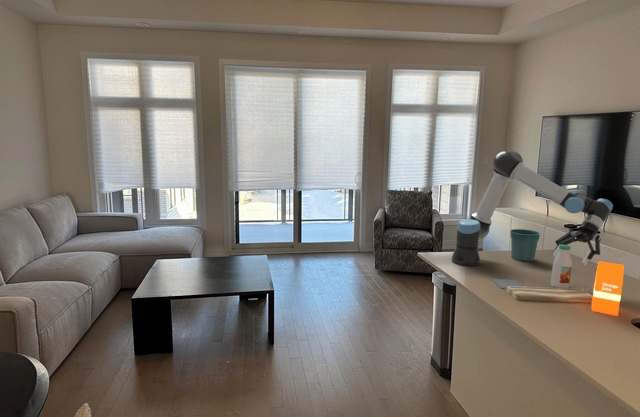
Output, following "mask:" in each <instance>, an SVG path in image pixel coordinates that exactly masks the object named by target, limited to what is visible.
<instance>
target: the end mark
mask: <svg viewBox="0 0 640 417" xmlns="http://www.w3.org/2000/svg"><path fill="white" fill-rule="evenodd" d="M491 281H492V282H493V283H494V284H496V285H497V286H498V287H499V288H500V289H504V290H505V288H506V286H524V287H526V286H525V285H523V284H522V283H520V281H518V280H517V279H500V278H499V279H498V278H497V279H496V278H495V279H494V278H491Z"/></svg>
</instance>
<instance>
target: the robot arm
mask: <svg viewBox="0 0 640 417" xmlns="http://www.w3.org/2000/svg"><path fill="white" fill-rule="evenodd" d="M523 163H524V160H523V157H522V156H521V154H520V153H518V152H516V151H514V150H503V151H500V152H498V153H497V154H496V155H495V156H494V158H493V161H492V164H493V170H492V173H493V176H492V177H491V180H490V183H489V184H488V187H487V189H486V190H485V193H484V194H483V198H482V199H481V201H480V203H479V205H478V207H477V209H476V212H473V213H472V214H471V216H470V217H469V218H467V219H461V220H459V221H458V222H457V229H456V241H455V243H456V244H455V248H454V250H453V252H452V255H451V262H452V263H453V264H457V265H462V266H467V267H468V266H469V267H471V266H472V267H475V266H479V265H480V264H481V257H480V253H479V241H480V240H482V239H484V238H486V237H487V236H488V234H489V233H490V226H491V225H492V217H493V214H494V213H495V210H496V208H497V207H498V204H499V202H500V200H501V199H502V197H503V194H504V193H505V190H506V188H507V186H508V184H509V182H510V181H512V180H514V179H515V180H517V181H518V182H520V183H522V184H523V185H525V186H527V187H528V188H530V189H532V190H533V191H535V192H537V193H539V194H541V195H542V196H544V197H545V198H547V199H549V200H551V201H553V202H554V203H556V204H558V205H559V206H560V207H562V208H564V209H565V210H566V211H567V212H568V213H570V214H578V213H581V212H582V213H584V214H586V217H585V218H584V219H583V221H582V223H581V224H580V226H579V227H578V230H577V231H574V230H573V229H569V231H568V232H567V233H565V234H564V235H562V236H561V237H558V238H557V239H556V240H555V241H554V242H555V244H556V246H555V248H554V250H555V251H553V255H552V256H553V257H554V258H555V257H556V256H557V254H558V253H559V245H568V246H569V245H570V244H573V243H574V242H575V243H577V242H581V243H584V244H585V243H587V245H588V248H589V250H588V251H587V253H586V254H585V256H584V257H583V259H582V260H581V264H582V266H584V267H585V266H586V265H587V264H588V262H589V261H591V260H592V259H593V257H594V256H595V255H597V256H599V255H600V256H601V244H600V243H601V240H602V239H601V236H600V234H598V232H599V230H600V229H601V227H603V224H604V222H605V221H606V220H607V218H608V217H609V215H610V213H611V211H612V210H613V209H614V208H613V207H614V204H613V203H612V202H611V201H610V200H609V199H606V198H597V200H595V199H592V198H590V197H587V196H586V195H583V194H580V193H579V192H576V191H569V190H568V189H565V188H564V187H562V186H560V185H558V184H556V182H555V183H554V182H553V181H551V180H550V179H548V178H546V177H544V176H543V175H541V174H539V173H537V172H535V171H533V170H532V169H531V168H529V167H527V166H525V165H523ZM592 240H594V241H595V242H594V244H595V249H594V247H593V245H592V243H591V242H592Z"/></svg>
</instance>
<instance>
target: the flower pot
mask: <svg viewBox="0 0 640 417" xmlns="http://www.w3.org/2000/svg"><path fill="white" fill-rule="evenodd" d="M509 232H510V239H511V240H510V244H511V245H510V248H511V249H510V252H511V254H510V255H511V256H510V257H511V258H512V259H514V260H516V261H524V262H533V261H534V260H535V257H536V252H537V248H538V242H539V240H540V236H541V235H542V233H541V232H540V231H537V230H532V229H527V228H526V229H525V228H514V229H510V230H509Z"/></svg>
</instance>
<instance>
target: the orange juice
mask: <svg viewBox="0 0 640 417" xmlns="http://www.w3.org/2000/svg"><path fill="white" fill-rule="evenodd" d="M624 271H625V264H621V263H620V264H619V263H614V262H606V261H601V260H600V261H598V263H597V268H596V272H595V279H594V285H593V293H592V295H593V298H592V303H591V311H592V312H595V313H596V312H598V313H602V314H605V315H611V316H619V310H620V309H619V308H620V302H621V297H622V292H623V291H622V290H623V289H622V288H623V282H624V273H625V272H624Z"/></svg>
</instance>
